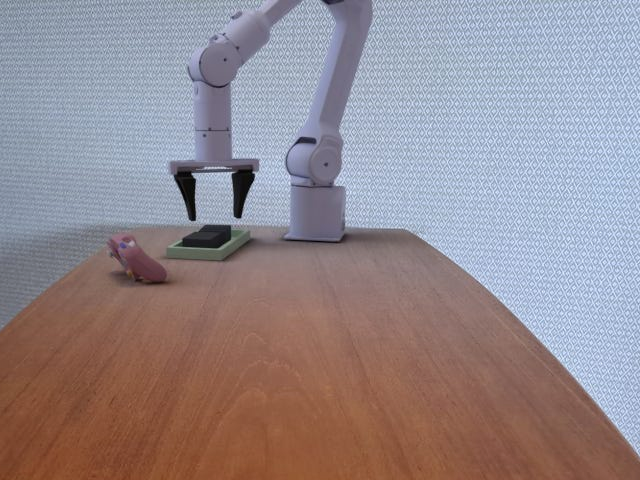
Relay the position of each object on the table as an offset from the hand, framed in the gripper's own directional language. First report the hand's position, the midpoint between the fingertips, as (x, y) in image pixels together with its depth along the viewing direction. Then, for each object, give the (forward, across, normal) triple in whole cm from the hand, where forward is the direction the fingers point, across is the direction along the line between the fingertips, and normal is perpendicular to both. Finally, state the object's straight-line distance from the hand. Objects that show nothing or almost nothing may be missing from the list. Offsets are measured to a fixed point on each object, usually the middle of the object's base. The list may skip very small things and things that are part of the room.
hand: (215, 219), depth 109 cm
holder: (+4, +1, +2) cm, 5 cm away
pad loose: (+4, 0, 0) cm, 4 cm away
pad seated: (+4, +4, +6) cm, 8 cm away
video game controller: (+4, +16, +17) cm, 24 cm away
